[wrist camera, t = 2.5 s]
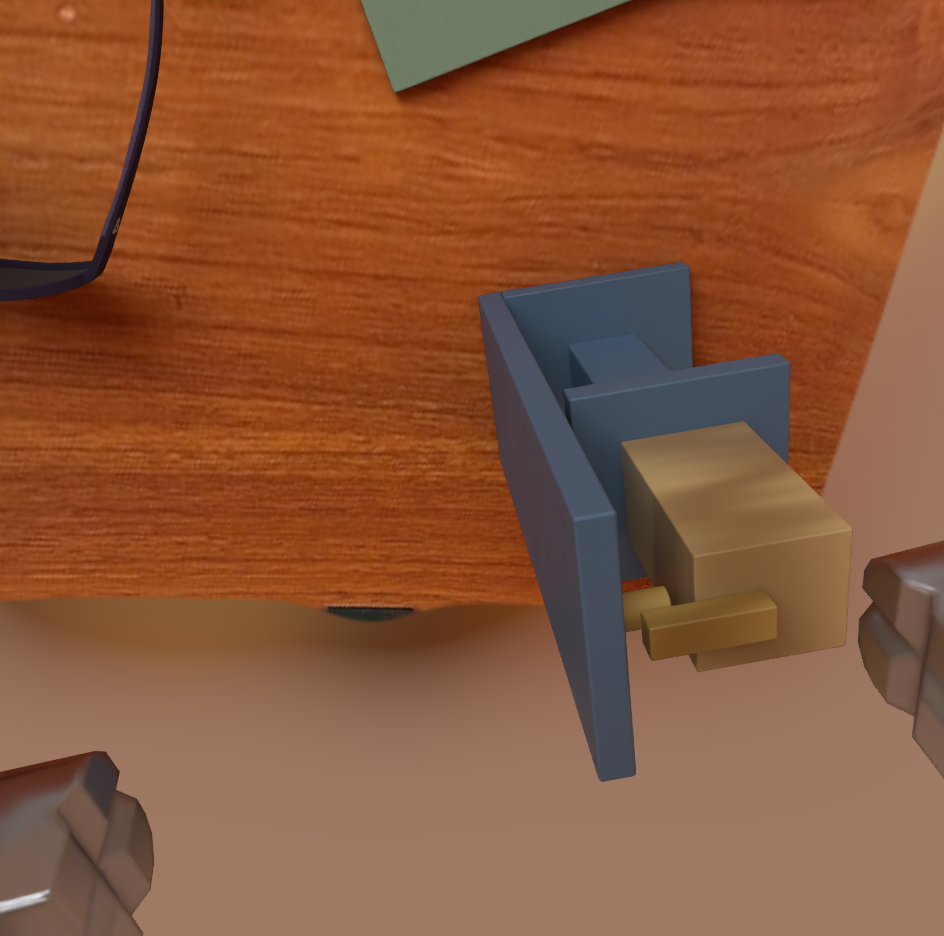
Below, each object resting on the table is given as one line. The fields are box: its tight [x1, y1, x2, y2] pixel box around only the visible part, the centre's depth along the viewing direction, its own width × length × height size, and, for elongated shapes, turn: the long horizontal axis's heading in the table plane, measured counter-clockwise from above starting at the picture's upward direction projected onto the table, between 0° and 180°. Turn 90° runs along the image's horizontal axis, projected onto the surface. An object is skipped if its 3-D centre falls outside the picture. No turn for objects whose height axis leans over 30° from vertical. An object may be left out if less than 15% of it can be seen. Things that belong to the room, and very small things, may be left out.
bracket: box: [478, 262, 790, 782], centre depth 30 cm, size 9×8×20 cm
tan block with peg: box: [621, 421, 853, 672], centre depth 25 cm, size 5×4×8 cm, turn 98°
